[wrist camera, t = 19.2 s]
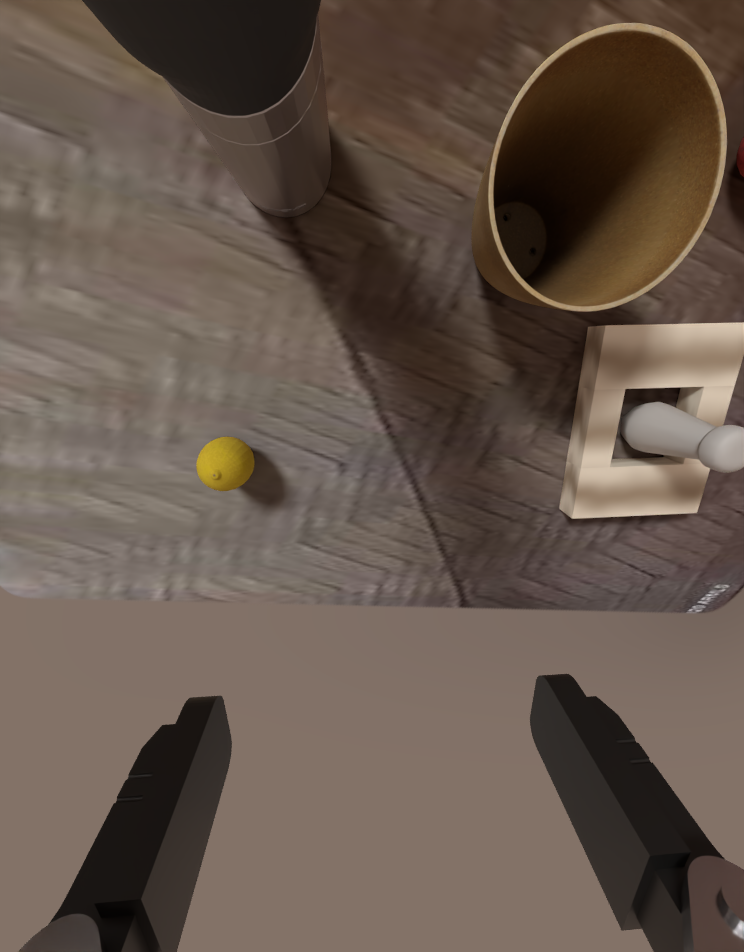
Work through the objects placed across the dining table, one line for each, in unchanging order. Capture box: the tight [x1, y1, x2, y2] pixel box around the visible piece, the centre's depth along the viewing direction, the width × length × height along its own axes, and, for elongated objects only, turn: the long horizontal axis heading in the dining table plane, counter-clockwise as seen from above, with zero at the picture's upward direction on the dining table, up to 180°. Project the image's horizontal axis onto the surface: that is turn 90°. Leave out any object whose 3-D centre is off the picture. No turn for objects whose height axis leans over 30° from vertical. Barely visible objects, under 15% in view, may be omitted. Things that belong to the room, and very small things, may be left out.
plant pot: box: [472, 23, 727, 312], centre depth 31 cm, size 15×15×16 cm
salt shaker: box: [620, 402, 744, 473], centre depth 39 cm, size 6×6×13 cm
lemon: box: [197, 437, 254, 491], centre depth 40 cm, size 6×6×8 cm
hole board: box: [559, 323, 744, 519], centre depth 44 cm, size 22×16×3 cm
